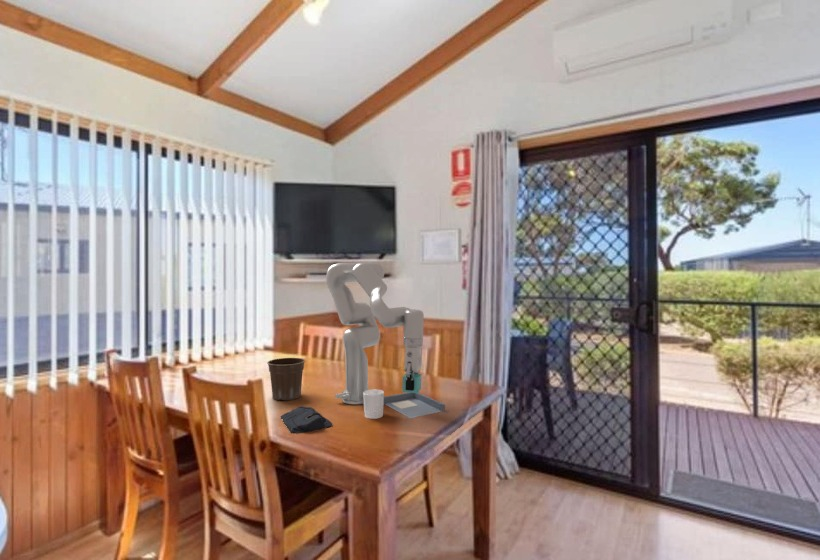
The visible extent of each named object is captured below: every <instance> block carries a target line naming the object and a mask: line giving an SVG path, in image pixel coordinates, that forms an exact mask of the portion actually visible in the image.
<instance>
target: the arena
mask: <svg viewBox="0 0 820 560" xmlns="http://www.w3.org/2000/svg"><path fill="white" fill-rule="evenodd" d="M384 405H385V406H387V407H388V408H390V409H392V410H394V411H396V412H398V413H399V414H400V415H404V416H405V417H406V418H408V419H413V418H418V417H423V416H427V415H431V414H433V415H434V414H436V413H441V412H442V413H443V412H445V411H446V403H443V402H440V401H438V400H436V399H433V398H432V397H429V396H427V395H425V394H422V393H420V392H418V393H409V392H402V393H398V394H391V395H387V396H385V395H384Z"/></svg>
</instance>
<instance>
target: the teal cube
mask: <svg viewBox="0 0 820 560" xmlns="http://www.w3.org/2000/svg"><path fill="white" fill-rule="evenodd" d="M411 375H412V374H411ZM413 380H414V390H413V391H411V390H406V373H404V375H403V376H402V387H401V388H402V390H401V391H402V393H407V392H409V393H420V391H421V390H422V373H419V372H418V373H414V379H413Z"/></svg>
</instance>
